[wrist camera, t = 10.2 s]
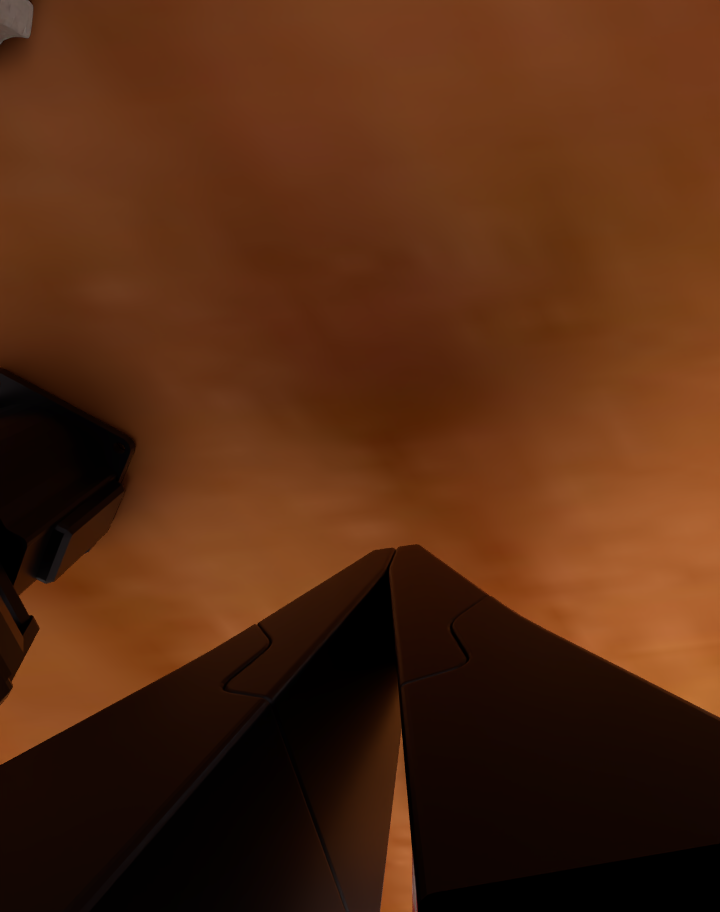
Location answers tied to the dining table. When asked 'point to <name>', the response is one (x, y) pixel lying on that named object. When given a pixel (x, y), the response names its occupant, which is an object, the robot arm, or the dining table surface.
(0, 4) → the egg carton
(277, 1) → the dining table surface
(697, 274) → the dining table surface
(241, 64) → the dining table surface
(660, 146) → the dining table surface
